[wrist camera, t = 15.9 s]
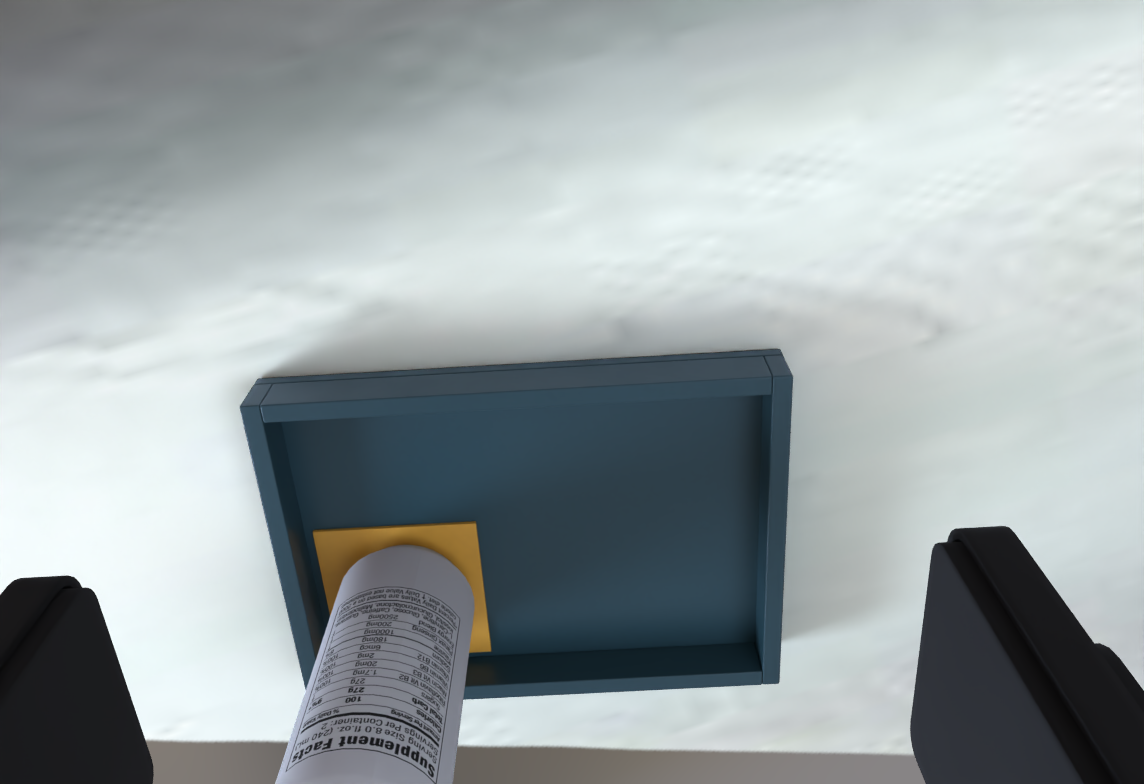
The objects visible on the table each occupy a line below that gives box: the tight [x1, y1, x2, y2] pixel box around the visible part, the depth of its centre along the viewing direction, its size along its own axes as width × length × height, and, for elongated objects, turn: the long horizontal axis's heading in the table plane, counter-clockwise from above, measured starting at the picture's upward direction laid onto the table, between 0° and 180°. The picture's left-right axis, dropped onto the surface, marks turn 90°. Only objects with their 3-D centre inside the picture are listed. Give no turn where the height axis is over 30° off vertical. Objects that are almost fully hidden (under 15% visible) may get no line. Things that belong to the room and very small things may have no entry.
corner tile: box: [313, 521, 492, 653], centre depth 45 cm, size 7×7×1 cm
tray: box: [240, 349, 793, 700], centre depth 43 cm, size 22×16×3 cm
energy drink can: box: [275, 545, 475, 784], centre depth 38 cm, size 6×6×15 cm
